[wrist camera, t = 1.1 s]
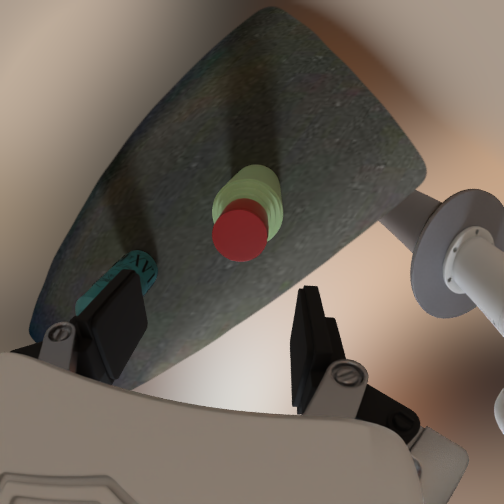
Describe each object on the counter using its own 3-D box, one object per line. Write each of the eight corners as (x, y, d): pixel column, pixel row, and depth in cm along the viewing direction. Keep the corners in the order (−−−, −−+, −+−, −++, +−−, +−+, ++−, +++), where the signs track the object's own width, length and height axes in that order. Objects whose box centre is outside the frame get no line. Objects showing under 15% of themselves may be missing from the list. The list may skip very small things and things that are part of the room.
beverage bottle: (167, 278, 44) (111, 366, 25) (134, 282, 45) (72, 361, 26) (155, 241, 41) (83, 317, 23) (121, 248, 42) (45, 317, 24)
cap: (273, 202, 22) (272, 214, 19) (265, 246, 24) (263, 266, 20) (224, 194, 22) (215, 205, 19) (218, 239, 24) (209, 256, 20)
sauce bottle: (287, 176, 36) (300, 212, 19) (268, 218, 38) (263, 285, 22) (243, 157, 35) (214, 175, 18) (225, 199, 38) (186, 254, 21)
